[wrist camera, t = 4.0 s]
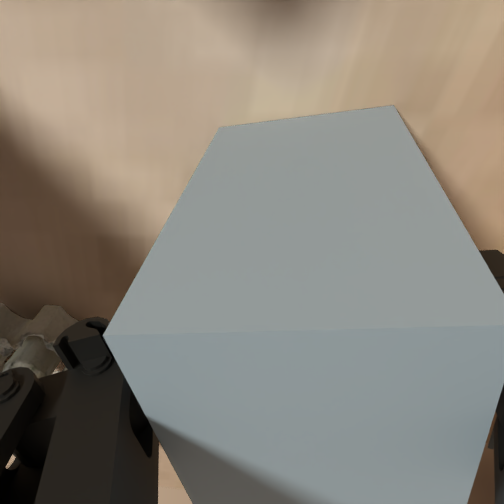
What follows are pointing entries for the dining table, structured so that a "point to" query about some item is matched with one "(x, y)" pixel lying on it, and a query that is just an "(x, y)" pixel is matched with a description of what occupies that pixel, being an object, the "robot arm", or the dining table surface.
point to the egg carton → (32, 339)
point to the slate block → (315, 322)
